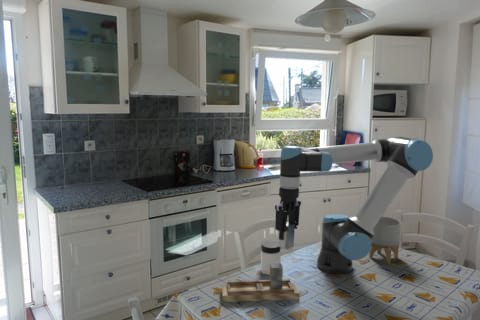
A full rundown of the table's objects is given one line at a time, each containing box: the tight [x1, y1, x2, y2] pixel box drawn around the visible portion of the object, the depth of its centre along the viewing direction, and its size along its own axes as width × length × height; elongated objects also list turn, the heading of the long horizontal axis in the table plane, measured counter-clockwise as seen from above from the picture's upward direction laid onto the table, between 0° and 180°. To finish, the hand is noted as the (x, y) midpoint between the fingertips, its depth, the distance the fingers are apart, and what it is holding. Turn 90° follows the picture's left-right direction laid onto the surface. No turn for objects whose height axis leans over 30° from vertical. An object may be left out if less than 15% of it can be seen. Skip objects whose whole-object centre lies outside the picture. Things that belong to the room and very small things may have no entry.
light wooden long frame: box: [221, 263, 301, 303], centre depth 136 cm, size 28×8×12 cm, turn 94°
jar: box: [260, 240, 282, 276], centre depth 156 cm, size 9×8×12 cm
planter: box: [368, 216, 402, 264], centre depth 170 cm, size 13×13×18 cm
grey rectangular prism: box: [285, 221, 296, 250], centre depth 142 cm, size 4×4×9 cm
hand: (286, 245), depth 143 cm, fingers closed on grey rectangular prism, 4 cm apart
